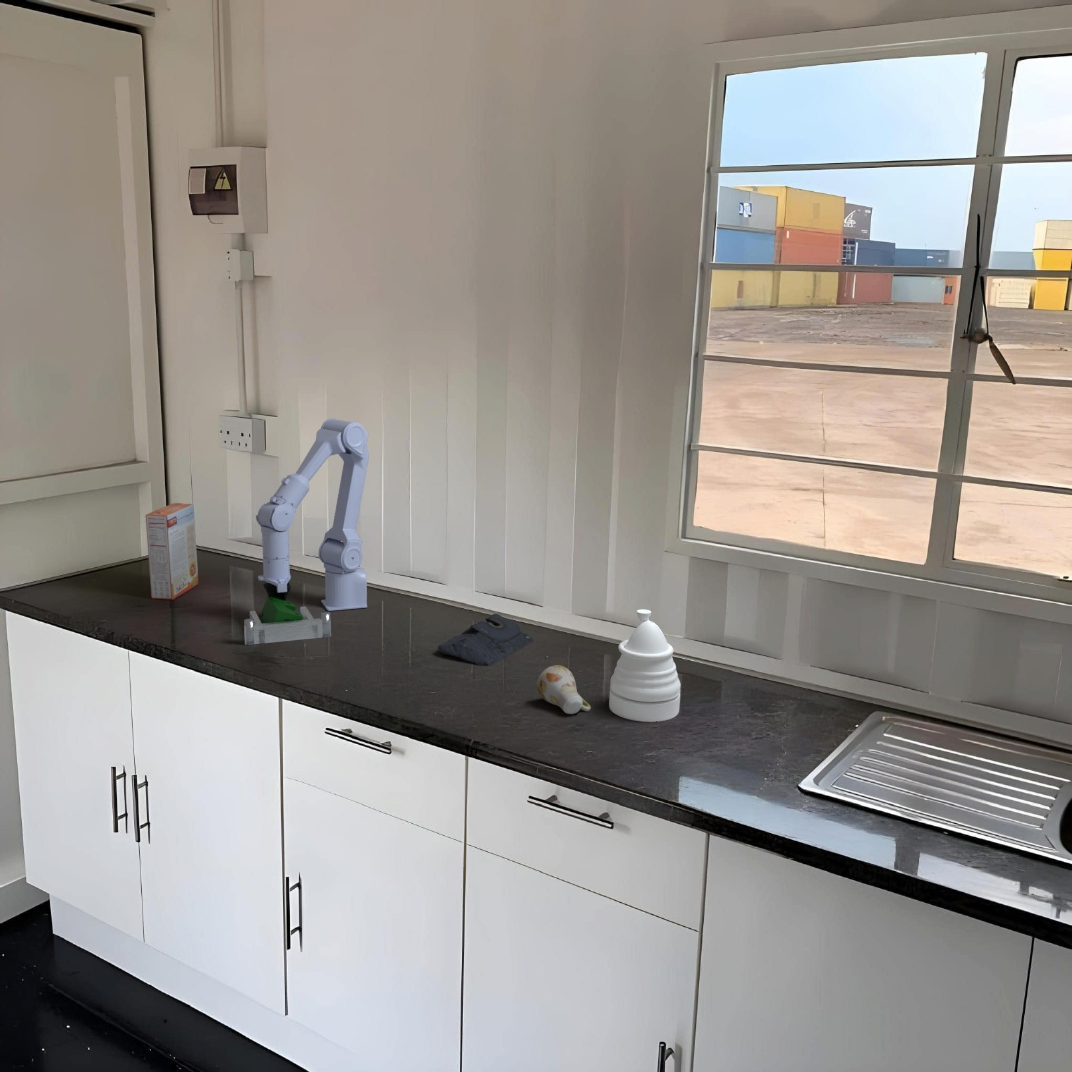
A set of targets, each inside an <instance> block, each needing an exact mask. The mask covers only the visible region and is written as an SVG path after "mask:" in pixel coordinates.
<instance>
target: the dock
mask: <svg viewBox="0 0 1072 1072" xmlns="http://www.w3.org/2000/svg"><path fill="white" fill-rule="evenodd" d="M299 613H301V614H302V615H303V618H302V620H296V621H285V622H274V623H263V624H262V623H261V622H260V616H258V614H257V612H256V610H250V611H249V618H246V619H244V621H243V624H244V625H243V628H244V629H243V631H244V636H243V637H244V645H245V646H253V645H260V644H268V643H271V644H272V643H279V642H280V643H281V642H291V641H299V640H310V639H311V640H312V639H321V638H323V639H328V638H332V631H331V630H332V624H331V623H332V621H331V620H332V619H331V613H330V612H329V611H325V612H324V611H323V612H322V611H321V613H320V617H319V618H314V616H313V615H312V614H311V612H310V611H309V609H308V607H306V606H300V611H299Z"/></svg>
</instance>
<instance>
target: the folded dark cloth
mask: <svg viewBox="0 0 1072 1072" xmlns="http://www.w3.org/2000/svg"><path fill="white" fill-rule="evenodd" d="M533 642H534V639H533V637H531V636H529V635H528V634H527V633H525V632H523V631H521V627H520V626H519V624H518V623H517V622H516V621H514V620H511V619H509V618H507V617H503V616H502V615H500V613H499V614H498V613H493V614H492V615H490V616H488V617H486V618H485V621H482V620H481V621H478V622H477V623H473V624H472V625H471V626H469V627H468V628H467V629H465V630H464V631H463V632H461V634H458V635H456V636H455V635H454V636H453V637H451V638H449V639H448V640H447V641H444V642H442V643H440V644H438V646H437V650H438V652H439V653H441V654H444V655H447V656H448V655H449V656H452V657H456V658H457V657H458V658H460V659H462V660H464V661H467V662H469V663H473V664H476V665H481V666H492V665H495V664H496V663H497V662H499V661H501V660H504V659H505V658H507V657H509V656H510V655H512V654H513V655H514V653H515V652H518V651H519V650H521V649H523V648H524V647H526V646H528V645H529V644H531V643H533Z"/></svg>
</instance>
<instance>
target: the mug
mask: <svg viewBox="0 0 1072 1072" xmlns="http://www.w3.org/2000/svg"><path fill="white" fill-rule="evenodd" d="M535 687H536V690H537V692H538V694H539V696H540V697H541V698H542V699H543V700H544V701H545V702H547V703H549V704H552V705H554V706H558V707H559V708H560V709H561V710H562V711H563V712H564V713H565V714H567V715H574V714H576V713H578V712H579V711H580V710H583V711H584V712H590V711H591V709H592V707H591V705H590V704H589V703H588V702H587V701H586V700H585V699H584V698H583V697H582V696H581V695H580V694H579V692H578V691H577V683H576V680H575V677H574V675H573V673H572V671H571V670H569V668H567V667H565V666H564V665H560V664H557V665H556V664H555V665H551V666H548V667H547V668H544V670H543V671H542V672H541V674H540V675H539V676H538V677H537V680H536V684H535Z"/></svg>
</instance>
